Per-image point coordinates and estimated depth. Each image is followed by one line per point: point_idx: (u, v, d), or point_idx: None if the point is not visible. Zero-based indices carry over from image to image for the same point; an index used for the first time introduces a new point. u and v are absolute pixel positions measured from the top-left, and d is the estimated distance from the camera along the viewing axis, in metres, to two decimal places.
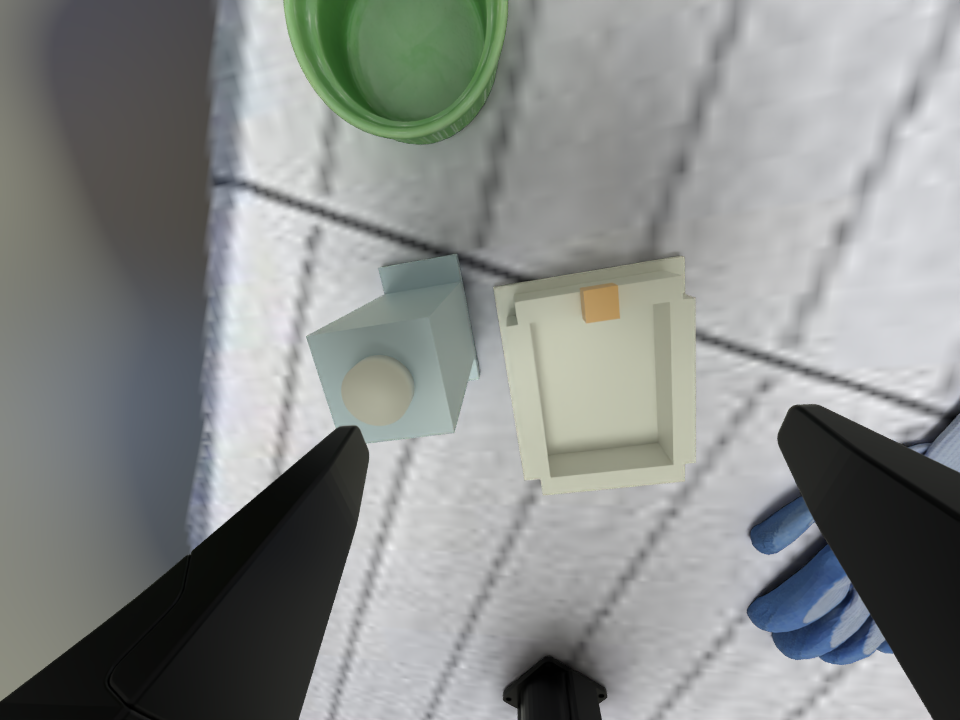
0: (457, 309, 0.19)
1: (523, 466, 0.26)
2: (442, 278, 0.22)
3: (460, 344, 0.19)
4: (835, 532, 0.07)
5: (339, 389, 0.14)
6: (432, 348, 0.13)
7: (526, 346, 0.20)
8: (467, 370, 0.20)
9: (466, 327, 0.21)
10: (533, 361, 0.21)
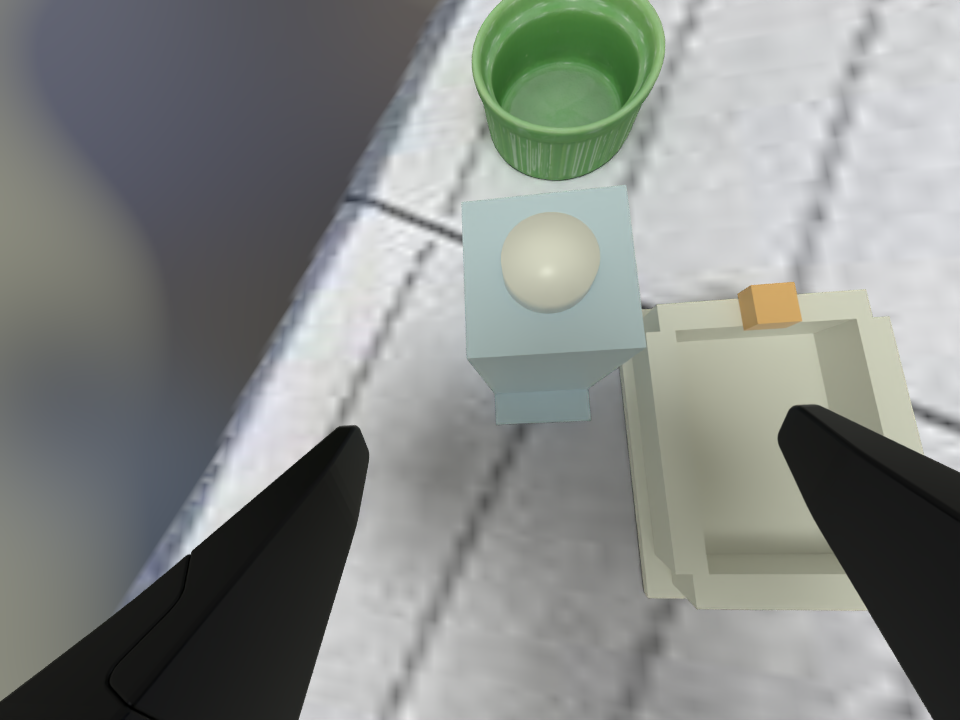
0: None
1: (647, 570, 0.17)
2: None
3: None
4: (835, 532, 0.07)
5: (486, 272, 0.10)
6: (626, 223, 0.10)
7: (671, 360, 0.16)
8: None
9: None
10: (680, 380, 0.16)
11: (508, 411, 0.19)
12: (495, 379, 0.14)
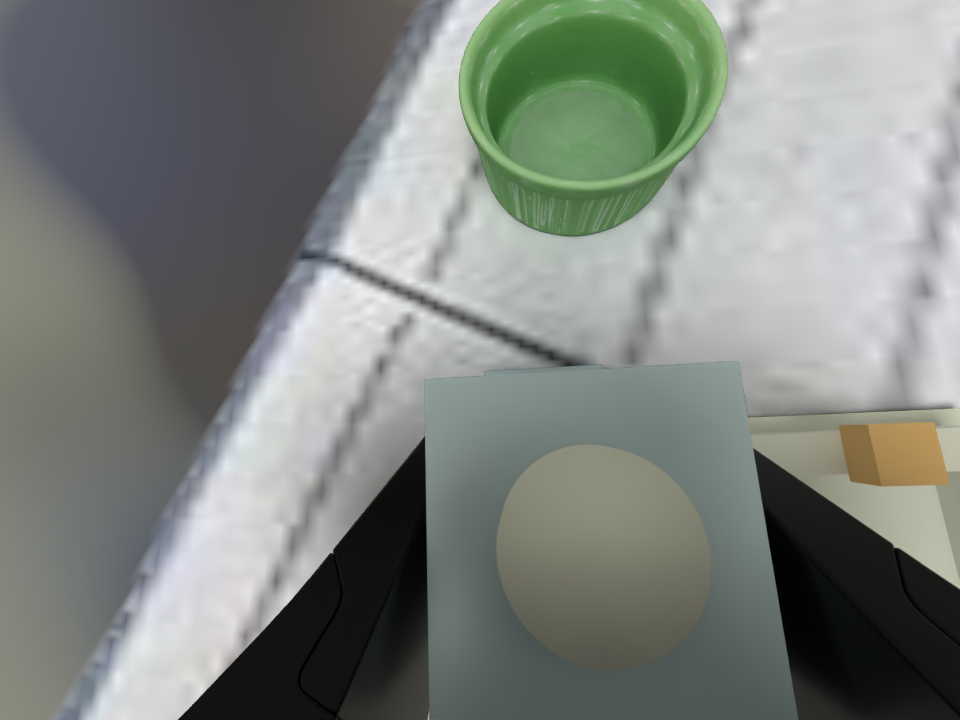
0: None
1: None
2: None
3: None
4: None
5: (469, 529, 0.05)
6: (743, 443, 0.05)
7: None
8: None
9: None
10: None
11: None
12: None
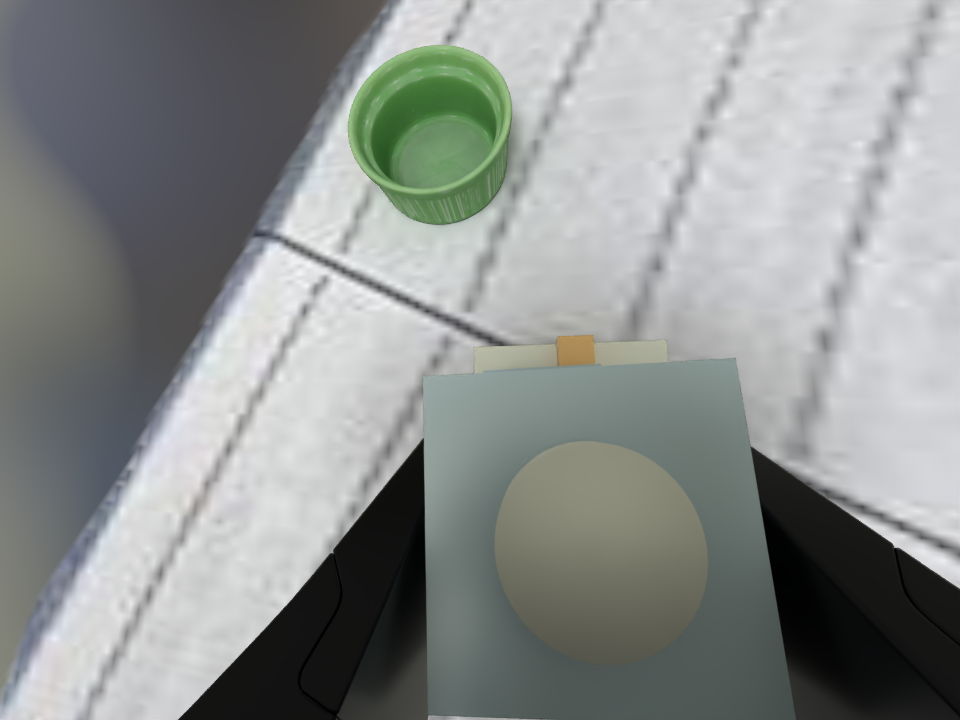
0: None
1: None
2: None
3: None
4: None
5: (467, 525, 0.05)
6: (739, 439, 0.05)
7: None
8: None
9: None
10: None
11: None
12: None
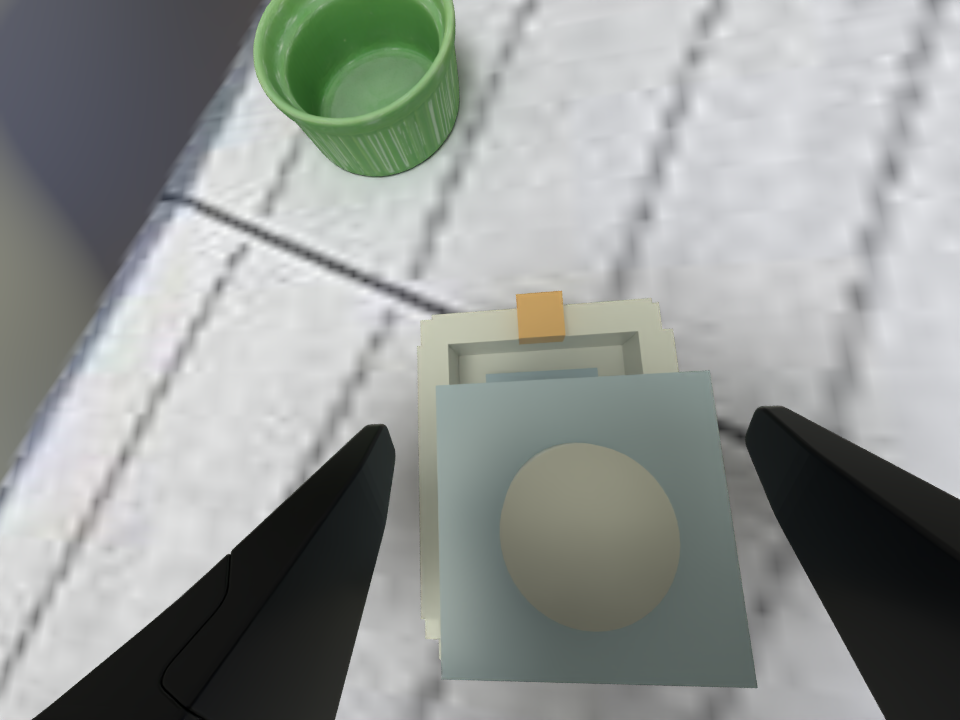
0: None
1: None
2: None
3: None
4: (796, 533, 0.07)
5: (475, 516, 0.06)
6: (712, 441, 0.06)
7: (440, 377, 0.15)
8: None
9: None
10: None
11: None
12: None
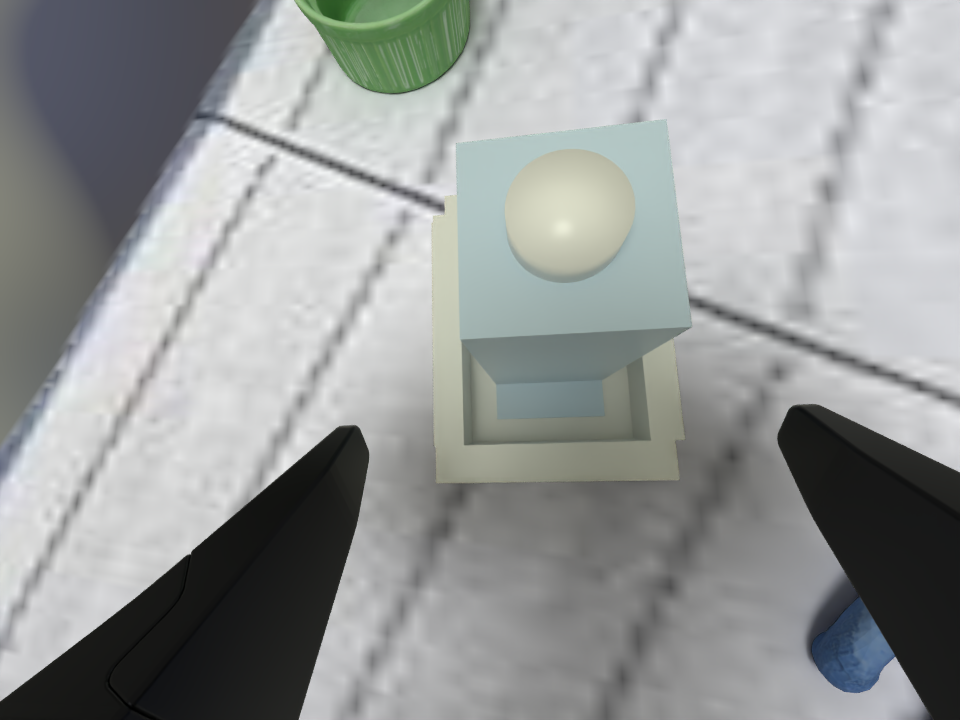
0: None
1: (437, 458, 0.17)
2: None
3: None
4: (835, 532, 0.07)
5: (485, 231, 0.08)
6: (666, 167, 0.08)
7: (452, 247, 0.16)
8: None
9: None
10: None
11: (511, 404, 0.17)
12: (496, 367, 0.12)
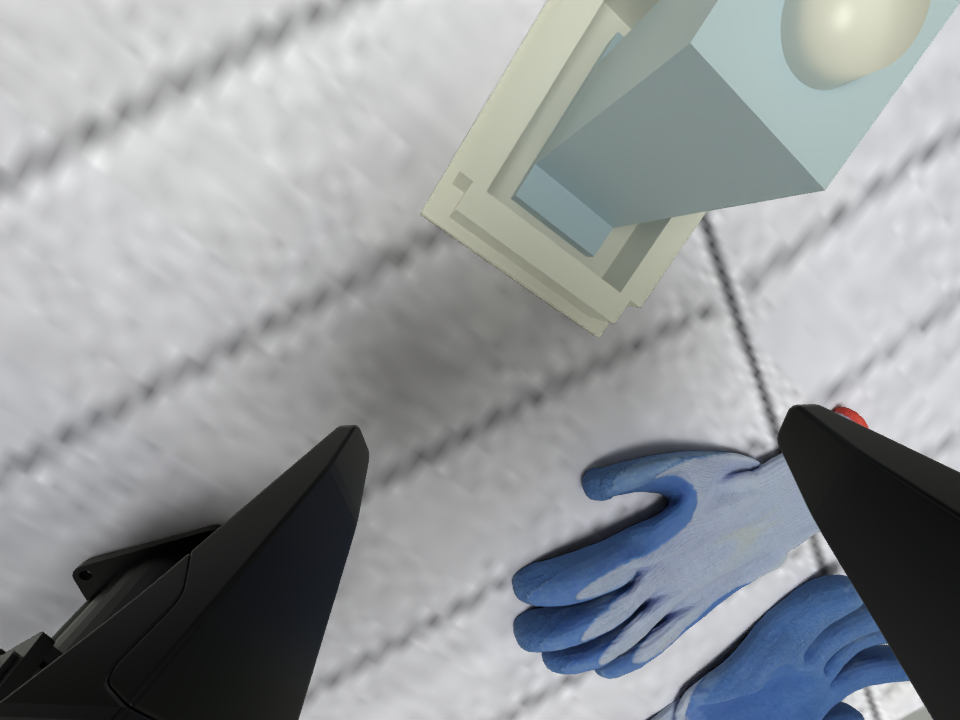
0: None
1: (435, 191, 0.16)
2: None
3: None
4: (835, 532, 0.07)
5: None
6: (922, 47, 0.08)
7: None
8: None
9: None
10: (597, 7, 0.14)
11: (534, 192, 0.16)
12: (600, 130, 0.11)
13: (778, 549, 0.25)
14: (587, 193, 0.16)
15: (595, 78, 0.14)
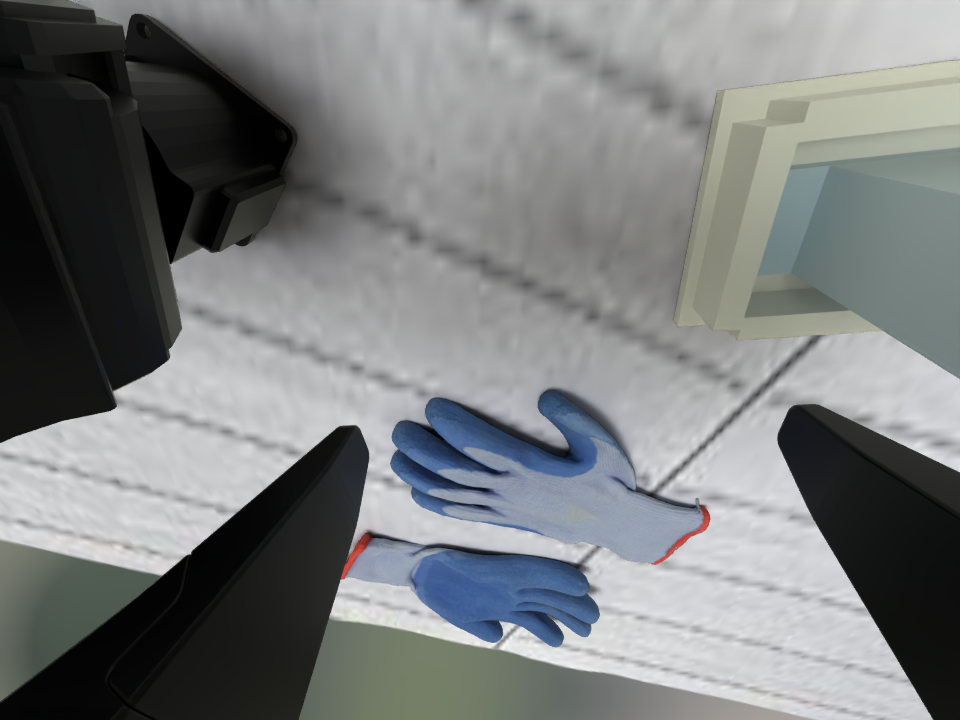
0: None
1: (754, 89, 0.15)
2: None
3: None
4: (835, 532, 0.07)
5: None
6: None
7: None
8: None
9: None
10: None
11: (799, 185, 0.16)
12: (941, 207, 0.11)
13: (580, 535, 0.31)
14: (825, 231, 0.16)
15: (956, 162, 0.14)
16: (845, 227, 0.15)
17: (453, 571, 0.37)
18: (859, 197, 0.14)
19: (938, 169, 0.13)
